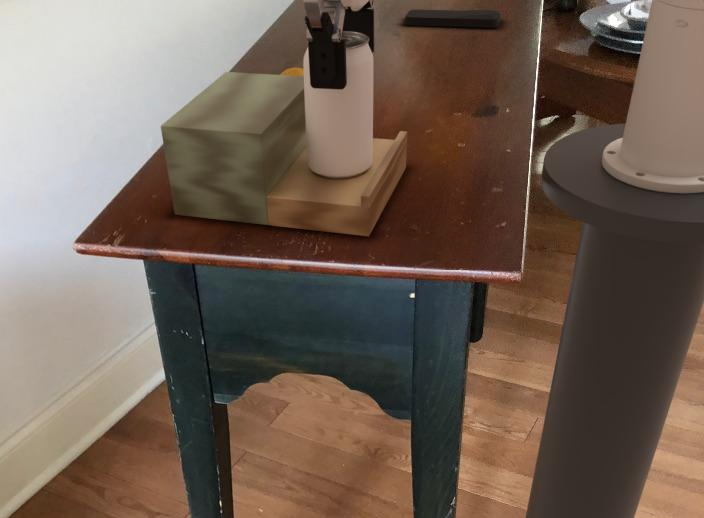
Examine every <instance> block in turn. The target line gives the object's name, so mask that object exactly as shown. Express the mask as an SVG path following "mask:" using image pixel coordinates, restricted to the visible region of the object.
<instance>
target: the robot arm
mask: <svg viewBox="0 0 704 518" xmlns="http://www.w3.org/2000/svg"><path fill="white" fill-rule="evenodd" d="M302 2H303V6H304V10H305V14H306V15H305V16H304V21H305V23H304V24H305V25H306V42H307V41H308V44H307V48H308V54H309V71H310V85H311V87H312V88H317V89H340V90H341V89H344V88H345V87H346V85H347V72H346V39H341V36H342V31H353V32H359V33H362V34H365V35H367V36H368V37H369V42H368V45H369V47H370V49H371V51H372V54H373V53H374V52H375V9H374V5H375V0H302ZM650 4H651V5H650V8H649V12H648V18H647V23H646V27H645V32H644V35H643V36H644V37H643V40H642V46H641V51H640V55H639V58H638V63H637V64H638V65H637V69H636V73H635V78H634V82H633V88H632V92H631V97H630V101H629V102H630V103H629V107H628V111H627V116H626V121H625V123H626V125H625V129H624V134H623V138H620V139H617V140H615V141H613V142H611V143H610V144H609V145H607V146H606V147H605V149H604V151H603V156H602V165H603V167H604V169H605V170H606V171H607V172H608V173H609V174H610V175H611V176H613V177H614V178H616V179H618V180H620V181H622V182H624V183H627V184H629V185H632V186H635V187H639V188H642V189H646V190H651V191H656V192H664V193H677V194H692V193H703V192H704V0H651V3H650ZM331 15H333V21H332V19H331V18H332V17H331Z"/></svg>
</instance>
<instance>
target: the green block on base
mask: <svg viewBox="0 0 704 518" xmlns="http://www.w3.org/2000/svg"><path fill="white" fill-rule="evenodd" d="M160 131H161V138H162V144H163V150H164V156H165V163H166V168H167V174H168V181H169V182H168V183H169V187H170V194H171V200H172V206H173V212H174V215H175V216H184V217H190V218H199V219H210V220H219V221H226V222H227V221H228V222H237V223H245V224H254V225H262V226H272V227H278V228H279V227H280V228H290V229H298V230H307V231H316V232H325V233H333V234H342V235H351V236H352V235H353V236H360V237H370V235H371V234H372V232H373V229H374V228H375V226H376V224H377V222H378V220H379V219H380V216H381V215H382V213H383V211H384V209H385V207H386V205H387V204H388V202H389V200H390V198H391V196H392V195H393V192H394V191H395V189H396V187H397V185H398V184H399V181H400V180H401V178H402V176H403V174H404V172H405V170H406V168H407V152H408V151H407V149H408V131H406V130H405V131H404V130H399V132H398V133H397V135H396V137H395V138H394V139H388V138H378V137H377V138H376V137H373V152H372V165H371V166H370V167H369V169H368V170H367V171H366V172H365V173H363V174H361V175H359V176H356V177H352V178H345V179H331V178H325V177H322V176H319V175H316V174H314V173H313V172H312V170H311V169H310V168H309V167H308V161H307V142H306V120H305V96H304V76H289V75H281V74H270V73H269V74H268V73H255V72H254V73H252V72H235V71H225V72H224V73H222V75H221V76H218V78H217V79H215V80H214V81H213V82H212V83H210V85H208V86H207V87H206V88H205V89H203V90H202V91H201V92H200V93H198V95H196V96H195V97H193V98H192V99H191V100H190V101H188V102H187V103H186V104H185V105H184V106H183V107H181V108H180V109H179V110H178V111H176V113H174V114H173V115H172V116H170V118H168V119H167V120H166V121H165V122H163V123H162V124H161V125H160Z"/></svg>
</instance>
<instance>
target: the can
mask: <svg viewBox="0 0 704 518" xmlns="http://www.w3.org/2000/svg"><path fill="white" fill-rule="evenodd" d="M341 39H346V72H347V85H346V87H345V88H344V89H341V90H340V89H317V88H312V87H311V85H310V71H309V54H308V47H307V48H306V51H305V52H304V55H303V61H302V62H303V63H302V64H303V67H302V68H303V69H304V96H305V120H306V142H307V161H308V167H309V168H310V169H311V170H312V172H313V173H314V174H316V175H319V176H322V177H325V178H331V179H345V178H352V177H356V176H359V175H361V174H363V173H365V172H366V171H367V170H368V169H369V167H370V166H371V165H372V152H373V138H374V54H373V53H372V51H371V49H370V47H369V45H368V42H369V37H368V36H367V35H365V34H362V33H359V32H353V31H342V36H341ZM306 44H307V45H308V41H307V40H306Z"/></svg>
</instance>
